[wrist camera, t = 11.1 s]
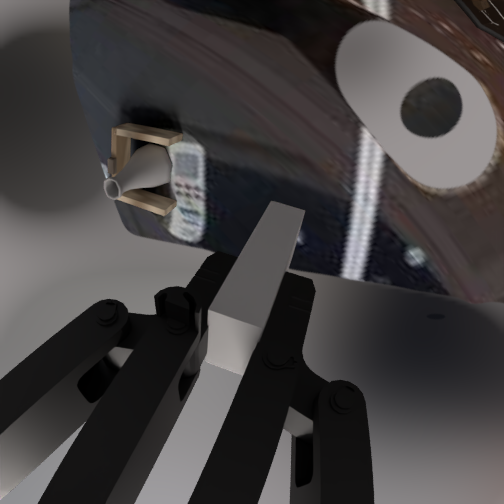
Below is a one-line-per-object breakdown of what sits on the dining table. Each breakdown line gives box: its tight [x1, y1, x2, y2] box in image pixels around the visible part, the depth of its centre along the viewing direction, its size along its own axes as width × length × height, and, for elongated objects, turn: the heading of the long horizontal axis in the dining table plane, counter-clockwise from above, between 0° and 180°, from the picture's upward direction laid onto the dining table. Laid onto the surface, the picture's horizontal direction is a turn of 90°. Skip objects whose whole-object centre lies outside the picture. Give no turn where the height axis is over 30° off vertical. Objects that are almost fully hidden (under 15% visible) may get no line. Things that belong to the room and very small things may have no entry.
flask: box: [104, 143, 172, 200], centre depth 39 cm, size 7×7×10 cm
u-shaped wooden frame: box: [108, 123, 183, 216], centre depth 42 cm, size 11×12×4 cm
